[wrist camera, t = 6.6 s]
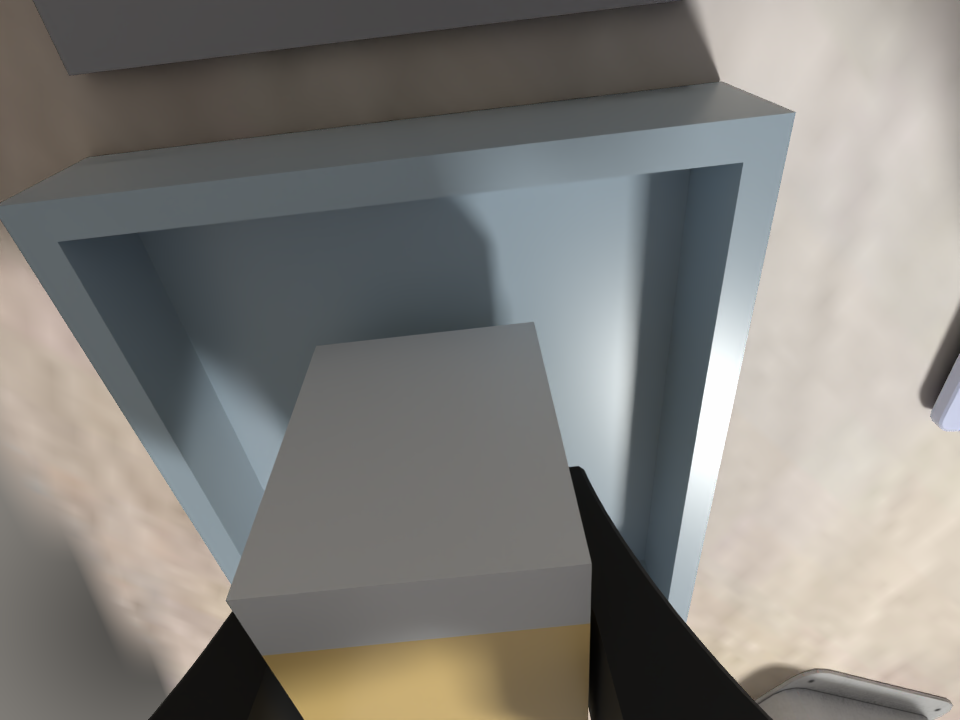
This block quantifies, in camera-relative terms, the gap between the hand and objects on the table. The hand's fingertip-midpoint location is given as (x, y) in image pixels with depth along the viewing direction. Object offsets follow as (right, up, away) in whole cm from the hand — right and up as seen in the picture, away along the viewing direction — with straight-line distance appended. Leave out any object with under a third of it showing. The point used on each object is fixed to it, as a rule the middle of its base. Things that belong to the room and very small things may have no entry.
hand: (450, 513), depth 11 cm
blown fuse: (0, +1, +1) cm, 1 cm away
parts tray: (0, +2, +3) cm, 3 cm away
